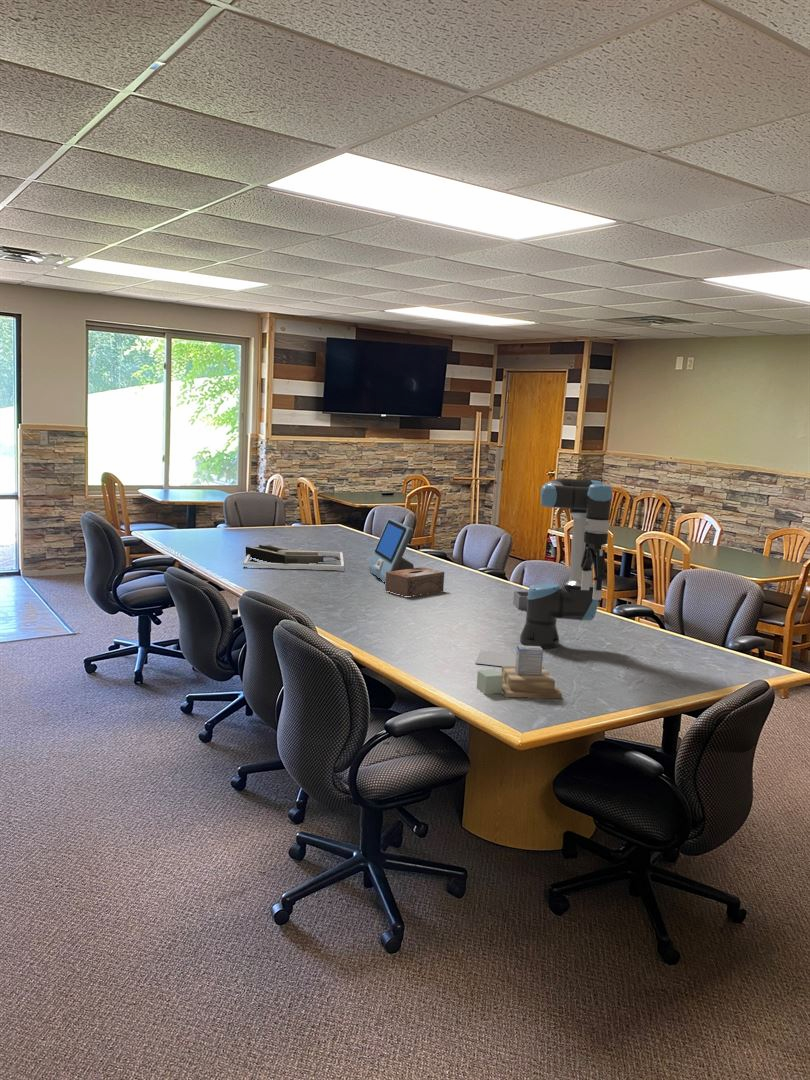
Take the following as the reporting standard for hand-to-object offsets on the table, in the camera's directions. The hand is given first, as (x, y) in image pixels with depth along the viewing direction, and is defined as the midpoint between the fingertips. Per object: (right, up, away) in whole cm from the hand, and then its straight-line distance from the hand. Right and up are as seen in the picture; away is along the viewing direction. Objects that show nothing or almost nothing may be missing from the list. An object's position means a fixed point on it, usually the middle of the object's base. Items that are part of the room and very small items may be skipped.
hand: (590, 594), depth 273 cm
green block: (-35, -30, -11) cm, 47 cm away
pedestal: (-22, -30, -7) cm, 38 cm away
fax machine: (-123, +6, +184) cm, 222 cm away
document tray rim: (-123, +6, +184) cm, 222 cm away
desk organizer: (0, -13, +107) cm, 108 cm away
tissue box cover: (-57, -7, +127) cm, 139 cm away
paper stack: (-25, -26, +18) cm, 40 cm away
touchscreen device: (-68, -2, +155) cm, 169 cm away
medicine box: (-22, -25, -8) cm, 34 cm away
